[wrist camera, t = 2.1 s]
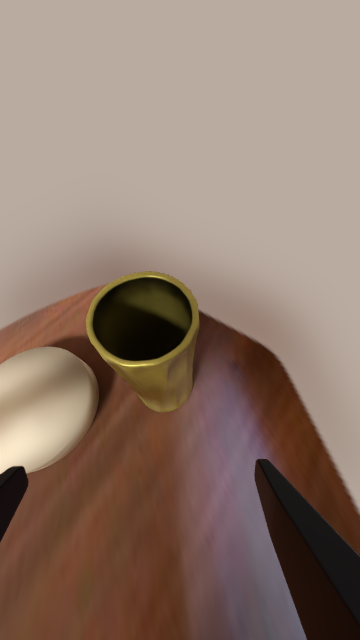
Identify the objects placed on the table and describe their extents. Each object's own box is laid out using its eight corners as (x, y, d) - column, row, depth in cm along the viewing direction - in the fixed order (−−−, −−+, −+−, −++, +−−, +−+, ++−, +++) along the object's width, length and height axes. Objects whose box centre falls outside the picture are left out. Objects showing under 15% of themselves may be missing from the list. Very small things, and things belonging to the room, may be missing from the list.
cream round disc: (114, 428, 19) (103, 428, 16) (-9, 501, 16) (-44, 514, 14) (84, 341, 24) (72, 330, 21) (-14, 385, 21) (-41, 379, 19)
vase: (175, 424, 19) (166, 410, 7) (125, 393, 20) (42, 335, 8) (201, 370, 22) (229, 290, 9) (156, 346, 23) (128, 250, 11)
